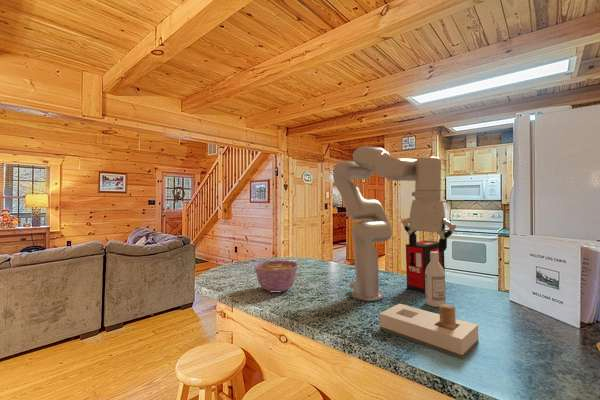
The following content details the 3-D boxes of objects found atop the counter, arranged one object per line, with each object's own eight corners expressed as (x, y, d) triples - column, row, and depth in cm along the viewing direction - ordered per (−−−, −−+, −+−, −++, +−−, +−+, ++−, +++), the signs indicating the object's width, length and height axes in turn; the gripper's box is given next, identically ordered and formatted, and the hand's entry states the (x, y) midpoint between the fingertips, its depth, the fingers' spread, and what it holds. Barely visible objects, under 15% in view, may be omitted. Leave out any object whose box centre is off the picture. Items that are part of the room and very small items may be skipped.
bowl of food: (246, 290, 136) (246, 265, 136) (280, 281, 149) (280, 258, 149) (272, 300, 121) (271, 272, 121) (307, 289, 134) (307, 264, 134)
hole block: (462, 359, 74) (461, 339, 74) (380, 329, 92) (379, 313, 92) (478, 342, 82) (478, 324, 82) (399, 318, 100) (399, 303, 100)
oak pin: (437, 338, 83) (436, 306, 83) (444, 334, 85) (443, 303, 85) (452, 343, 80) (451, 310, 80) (458, 339, 82) (457, 307, 82)
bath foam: (449, 305, 110) (448, 252, 110) (438, 309, 107) (436, 254, 107) (433, 300, 116) (432, 249, 116) (421, 303, 113) (420, 251, 113)
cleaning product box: (425, 293, 124) (424, 246, 124) (406, 289, 131) (405, 244, 131) (445, 285, 134) (443, 242, 134) (426, 281, 141) (425, 240, 141)
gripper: (397, 195, 98) (396, 246, 99) (450, 196, 85) (449, 255, 86) (408, 195, 103) (408, 243, 104) (461, 196, 90) (460, 251, 91)
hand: (427, 248), depth 95 cm, fingers open, 9 cm apart
